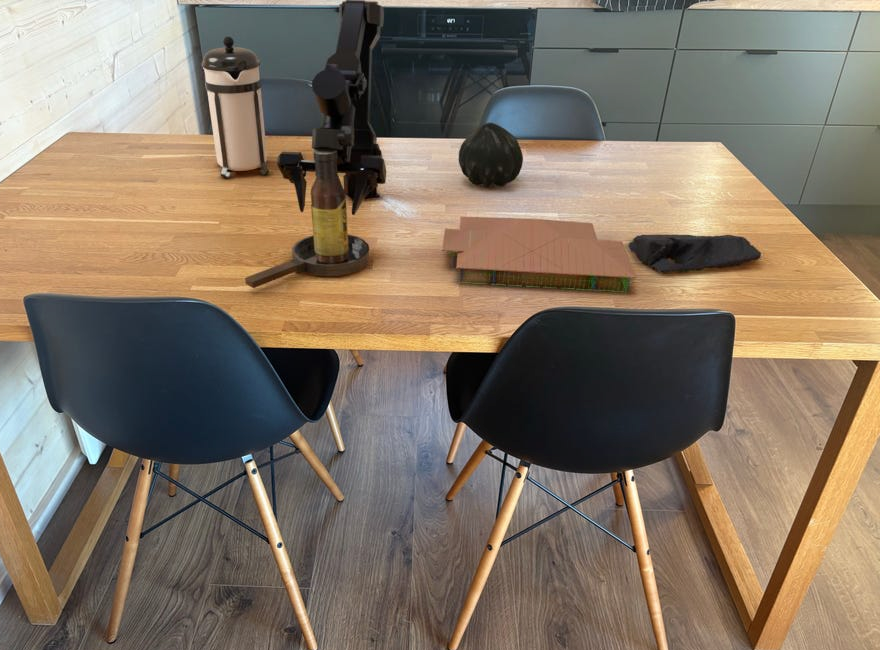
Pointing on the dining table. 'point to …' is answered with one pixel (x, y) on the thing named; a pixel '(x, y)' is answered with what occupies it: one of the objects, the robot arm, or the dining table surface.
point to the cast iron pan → (353, 263)
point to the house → (537, 249)
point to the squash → (490, 156)
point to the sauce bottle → (328, 210)
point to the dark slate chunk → (692, 251)
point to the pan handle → (276, 273)
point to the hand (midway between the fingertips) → (327, 212)
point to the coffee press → (236, 108)
